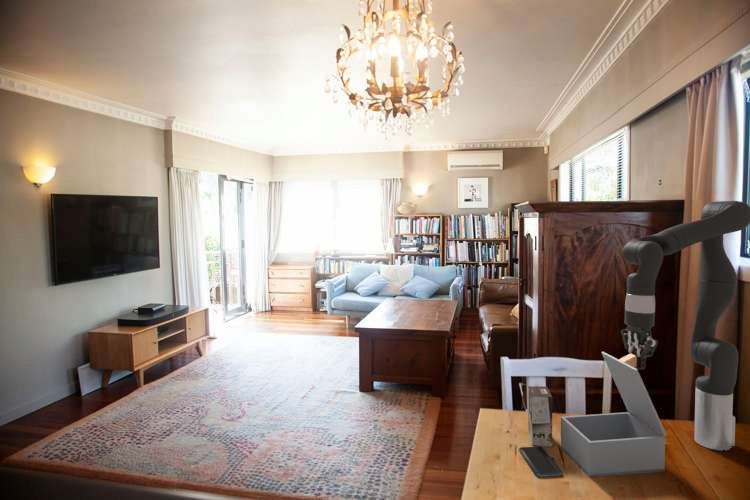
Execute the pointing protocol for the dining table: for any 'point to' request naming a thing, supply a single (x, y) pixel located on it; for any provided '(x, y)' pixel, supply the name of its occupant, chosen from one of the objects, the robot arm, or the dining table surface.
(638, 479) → the dining table surface
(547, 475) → the phone
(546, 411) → the coffee box
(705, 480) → the dining table surface
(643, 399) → the grey box lid
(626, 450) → the carton box
